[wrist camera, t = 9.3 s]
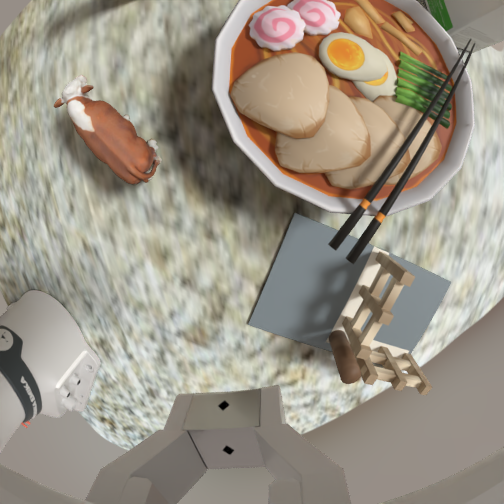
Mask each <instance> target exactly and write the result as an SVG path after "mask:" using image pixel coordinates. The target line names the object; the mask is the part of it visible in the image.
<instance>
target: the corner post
mask: <svg viewBox="0 0 504 504" xmlns="http://www.w3.org/2000/svg"><path fill="white" fill-rule="evenodd" d="M329 342H330V345H331V348H332V351H333V355H334V358H335V361H336V364H337V368H338V371H339V374H340V377H341V380H342V382H343V383H346V384H351V383H354V382H356V381H357V380H359V378H360V377H361V371H360V368H359V366H358V363H357V361H356V358H355V356H354V353H353V351H352V349H351V346H350V344H349V341H348V339H347V337H346V334H345V332H344V331H342V330H335V331H333V332H332V333H331V334H330V335H329Z"/></svg>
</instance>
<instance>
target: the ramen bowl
mask: <svg viewBox="0 0 504 504" xmlns="http://www.w3.org/2000/svg"><path fill="white" fill-rule="evenodd" d="M471 40H472V39H471V38H470V40H469V41H468V43H467V45H466V47H465V48H464V50H463V52H462V53H461V55H460V54H459V52H458V50H457V48H456V46H455V44H454V42H453V40H452V38H451V37H450V35H449V34H448V33H447V32H446V31H445V30H444V29H443V27H442V26H441V25H440V24H439V23H438V22H437V21H436V20H435V18H434V17H433V16H432V15H431V14H430V13H429V12H428V11H427V10H426V9H425V8H424V7H423V6H422V5H421V4H420V3H419V2H418V1H416V0H239V1H238V3H237V4H236V6H235V7H234V9H233V11H232V12H231V14H230V15H229V17H228V19H227V20H226V22H225V24H224V25H223V27H222V29H221V30H220V32H219V34H218V36H217V37H216V39H215V49H214V62H213V76H212V92H213V94H214V97H215V99H216V101H217V104H218V106H219V109H220V111H221V113H222V116H223V118H224V121H225V123H226V126H227V128H228V131H229V133H230V135H231V138H232V140H233V142H234V143H235V144H236V145H237V146H238V147H239V148H240V149H241V151H242V152H243V153H244V154H245V155H246V156H247V157H248V158H249V159H250V160H251V161H252V162H253V163H254V164H255V165H256V166H257V167H258V168H259V169H260V170H261V172H262V173H263V174H264V175H265V176H266V177H267V178H268V179H269V180H270V181H271V182H272V183H273V184H274V186H275V187H278V188H280V189H282V190H284V191H286V192H289V193H291V194H293V195H295V196H297V197H299V198H301V199H304V200H306V201H308V202H310V203H312V204H314V205H316V206H318V207H320V208H322V209H324V210H326V211H328V212H332V213H345V214H351V215H350V217H349V218H348V219H347V221H346V222H345V223H344V225H343V226H342V227H341V228H340V230H339V231H338V232H337V233H336V235H335V236H334V237H333V239H332V240H331V241H330V242H329V244H328V245H329V246H330V247H331V248H333V249H334V250H335V251H336V250H337V249H338V248H339V246H340V245H341V244H342V242H343V241H344V240H345V238H346V237H347V236H348V234H349V233H350V232H351V230H352V229H353V228H354V226H355V225H356V223H357V222H358V221H359V219H360V218H361V217H362V215H369V216H375V217H374V218H373V220H372V221H371V223H370V224H369V226H368V227H367V229H366V230H365V231H364V233H363V234H362V236H361V237H360V238H359V240H358V241H357V243H356V244H355V245H354V247H353V248H352V250H351V251H350V252H349V254H348V255H347V256H346V259H347V260H348V261H349V262H351V263H352V264H354V263H355V262H356V260H357V259H358V257H359V256H360V254H361V253H362V252H363V250H364V249H365V247H366V246H367V244H368V243H369V241H370V240H371V238H372V237H373V235H374V234H375V232H376V231H377V229H378V228H379V226H380V225H381V223H382V221H383V219H384V218H385V217H386V216H389V215H392V214H394V213H397V212H400V211H402V210H405V209H408V208H410V207H413V206H416V205H418V204H421V203H424V202H426V201H429V200H431V199H432V198H433V197H434V196H435V195H436V194H437V193H438V192H439V191H440V190H441V189H442V188H443V187H444V186H445V185H446V184H447V183H448V181H449V180H450V179H451V178H452V177H453V176H454V175H455V174H456V173H457V172H458V171H459V170H460V169H461V167H462V164H463V161H464V159H465V156H466V153H467V150H468V146H469V143H470V140H471V137H472V133H473V130H474V127H475V122H474V104H473V92H472V82H471V79H470V76H469V74H468V72H467V69H466V66H467V63H468V61H469V59H470V56H471V54H472V51H473V49H474V46H475V44H476V43H474V44H473V46H472V48H471V51H470V53H469V55H468V57H467V59H466V61H465V63H463V60H462V57H463V55H464V53H465V51H466V49H467V47H468V46H469V44H470V42H471Z"/></svg>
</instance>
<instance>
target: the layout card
mask: <svg viewBox="0 0 504 504" xmlns="http://www.w3.org/2000/svg"><path fill="white" fill-rule="evenodd" d="M337 232H338V230H336V229H334V228H331V227H329V226H326V225H324V224H322V223H319V222H317V221H314V220H312V219H309V218H307V217H304V216H302V215H299V214H297V213H294V215H293V218H292V220H291V223H290V225H289V228H288V230H287V233H286V235H285V238H284V240H283V242H282V245H281V247H280V250H279V252H278V255H277V257H276V259H275V262H274V264H273V267H272V269H271V271H270V274H269V276H268V279H267V281H266V283H265V286H264V288H263V290H262V293H261V295H260V297H259V300H258V302H257V305H256V307H255V309H254V312H253V314H252V316H251V319H250V321H249V323H248V325H251V326H253V327H256V328H259V329H262V330H265V331H268V332H271V333H274V334H277V335H280V336H283V337H286V338H289V339H292V340H296V341H299V342H302V343H305V344H308V345H312V346H315V347H318V348H322V349H325V350H328V351H332V348H331V345H330V342H329V335H330V334H331V333H332V332H333V331H335V330H342V331H344V332H345V329H344V327H343V325H342V322H343V321H344V319H345V317H346V316H348V317H351V318H354V316H355V314H356V312H357V310H358V309H359V307H360V305H361V303H362V301H363V299H362V297H361V296H360V294H359V291H360V289H361V287H362V285H365V286H368V287H370V286H371V284H372V282H373V280H374V278H375V276H376V274H377V272H378V270H379V268H380V266H381V265H380V264H379V263H378V262H377V261H376V260H375V259H376V257H377V255H378V253H379V251H380V252H382V253H384V254H387V255H389V256H390V257H391V258H392V259H394V260H395V261H396V262H398V263H399V264H400V265H401V266H403V267H404V268H405V269H406V270H408V271H409V272H410V273H411V274H413V275H414V276H415V278H414V280H413V282H412V284H411V286H410V287H409V286H406V285H404V286H403V288H402V290H401V292H400V294H399V296H398V297H397V299H396V301H395V303H394V305H393V307H392V308H391V310H390V312H391V313H392V314H393V315H394V317H393V319H392V320H391V322H390V324H389V326H388V325H385V324H382V326H381V327H380V329H379V331H378V332H377V334H376V336H375V337H374V339H373V340H372V342H371V344H370V345H369V346H370V348H371V350H372V351H375V352H378V350H379V349H380V347H381V346H383V347H387V348H388V349H389V351H390V353H391V354H392V356H393V357H396V358H400V359H401V358H402V357H403V355H404V354H405V353H408V354H411V353H412V351H413V349H414V348H415V346H416V345H417V343H418V342H419V340H420V338H421V337H422V335H423V333H424V332H425V330H426V328H427V327H428V325H429V323H430V321H431V320H432V318H433V316H434V314H435V313H436V311H437V309H438V307H439V305H440V303H441V302H442V300H443V298H444V296H445V294H446V292H447V290H448V288H449V286H450V284H451V282H450V281H448V280H446V279H444V278H442V277H440V276H438V275H436V274H434V273H432V272H429V271H427V270H425V269H423V268H421V267H419V266H417V265H415V264H413V263H410V262H408V261H406V260H404V259H402V258H400V257H397V256H395V255H393V254H391V253H389V252H386V251H384V250H382V249H380V248H378V247H375V246H373V245H371V244H369V243H368V244H367V246H366V247H365V249H364V250H363V252H362V253H361V254H360V256H359V257H358V259H357V260H356V262H355V263H354V264H352V263H351V262H349V261H348V260H347V259H346V256H347V255H348V254H349V252H350V251H351V250H352V248H353V247H354V245H355V244H356V243H357V241H358V240H359V239H357V238H355V237H352V236H350V235H348V236H347V237H346V238H345V240H344V241H343V242H342V244H341V245H340V246H339V248H338V249H337V250H336V251H335V250H334V249H333V248H331V247H330V246H329V245H328V244H329V242H330V241H331V240H332V239H333V237H334V236H335V235H336V233H337ZM392 277H393V276H392V275H391V274H390V276H389V278H388V280H387V282H386V284H385V286H384V288H383V290H382V292H381V293H380V295H379V298H380V299H381V298H382V296H383V295H384V293H385V291H386V289H387V287H388V285H389V283H390V281H391V279H392ZM371 316H372V312H370V314H369V315H368V317H367V319H366V321H365V322H364V324H363V326H362V327H361V331H362V332H363V330H364V328H365V327H366V325H367V323H368V321H369V320H370V318H371ZM345 334H346V332H345ZM346 337H347V339H348V336H347V334H346ZM348 341H349V339H348ZM349 344H351V343H350V341H349ZM332 352H333V351H332ZM372 363H373V362H372ZM375 364H377V363H375ZM379 365H381V364H379Z"/></svg>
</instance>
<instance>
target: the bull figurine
mask: <svg viewBox="0 0 504 504" xmlns="http://www.w3.org/2000/svg"><path fill="white" fill-rule="evenodd" d="M86 82H87V78H86V77H85V76H83V75H80V76H78V77H76V78H75V79H74V80H73V81H71V82H69V83H68V84H67V85H66V86H65V88H64V90H63V92H62V98H60V99H58V100H57V101H56V102H55V104H54V107H55V108H57V107H60V106H61V105H63V104H64V103H66V104H67V111H68V114H69V116H70V118H71V120H72V121H73V124H74V126H75V128H76V131H77V133H78V134H79V135H80V136H81V138H82V139H83V140H84V142H85V143H86V145H87V146H88V147H89V149H90V150H91V151H92V152H93V153H94V154H95V156H96V157H97V158H98V159H99V160H101V161H102V162H104V163H106V164H107V165H108V166H109V167H110V168H111V169H112V170H113V171H114V173H115V174H116V175H117V176H118V177H120V178H121V179H123V180H124V181H126V182H127V183H129V184H137V183H139V182H140V181H141V180H143V181H144V182H146V183H147V182H148V180H151V179H152V178H153V175H154V173H155V171H156V168H157V165H159V164H160V163H161V162H162V159H161V157H160V156H157V155H156V153H155V151H156V150H157V149H158V146H157V145H156V143H157V142H156V140H155V139H150V140H148V144H147V143H146V141H145V140H144V139H142V138H141V137H138V136H137V134H136V130H135V128H134V126H133V124H132V123H131V122H130V120H129V119H130V117H129V115H124V116H123V117H122V116H121V115H120V114H119V113H118V112H117V110H116V109H114V108H113V107H112V106H111V105H110V104H108V103H106V102H104V101H92V100H91V99H90V98H89V96H88V92H89V91H90V90H92V89H93V86H91V85H87V84H86ZM152 163H153V164H154V165H153V167H152V170H150V167H151V165H152Z"/></svg>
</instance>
